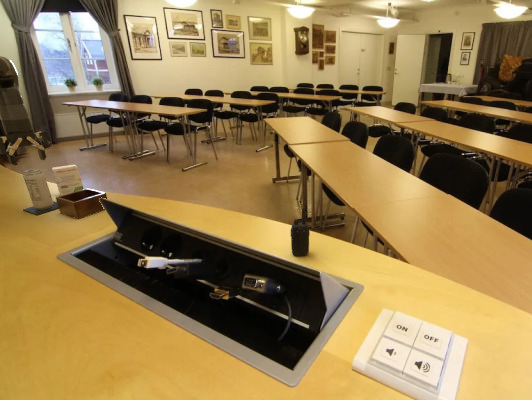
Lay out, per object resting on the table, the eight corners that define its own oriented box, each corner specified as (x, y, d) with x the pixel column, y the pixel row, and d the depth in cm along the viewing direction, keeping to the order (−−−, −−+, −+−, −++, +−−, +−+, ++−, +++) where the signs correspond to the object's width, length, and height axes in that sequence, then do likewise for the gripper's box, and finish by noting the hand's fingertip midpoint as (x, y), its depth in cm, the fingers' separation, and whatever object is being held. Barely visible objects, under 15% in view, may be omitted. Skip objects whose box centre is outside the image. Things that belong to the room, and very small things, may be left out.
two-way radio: (308, 250, 98) (308, 205, 92) (310, 258, 94) (310, 211, 88) (290, 251, 97) (289, 206, 91) (291, 259, 93) (290, 212, 87)
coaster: (36, 215, 119) (36, 214, 119) (23, 210, 123) (22, 209, 123) (66, 206, 127) (66, 205, 127) (52, 201, 131) (52, 200, 131)
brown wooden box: (78, 219, 117) (73, 203, 114) (60, 213, 121) (55, 197, 119) (109, 207, 126) (105, 192, 124) (92, 202, 131) (88, 188, 129)
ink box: (82, 188, 146) (75, 163, 142) (84, 191, 143) (77, 166, 138) (59, 193, 141) (51, 167, 136) (60, 196, 137) (52, 169, 133)
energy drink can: (58, 205, 127) (46, 169, 121) (41, 211, 122) (28, 173, 116) (47, 203, 129) (35, 167, 123) (31, 208, 123) (17, 171, 118)
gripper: (33, 114, 120) (46, 157, 126) (-17, 119, 108) (-1, 165, 114) (44, 116, 117) (56, 159, 123) (-7, 120, 105) (10, 168, 111)
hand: (29, 162), depth 118 cm, fingers open, 8 cm apart
